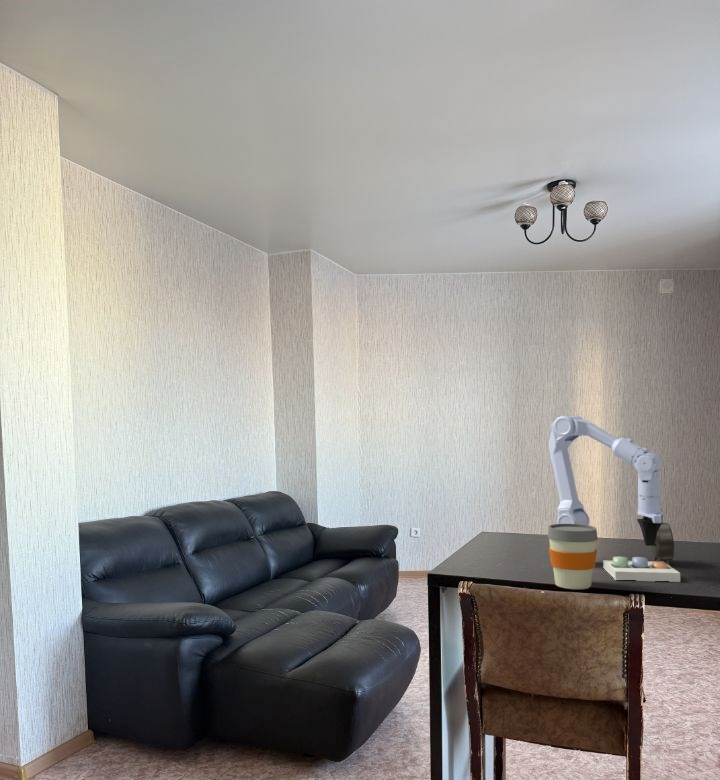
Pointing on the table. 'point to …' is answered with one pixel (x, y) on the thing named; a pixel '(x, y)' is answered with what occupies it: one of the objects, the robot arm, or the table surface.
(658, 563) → the terracotta button
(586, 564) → the reusable coffee cup
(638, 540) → the table surface
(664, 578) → the panel
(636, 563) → the slate button
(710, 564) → the table surface
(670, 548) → the alarm clock
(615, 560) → the sage button
